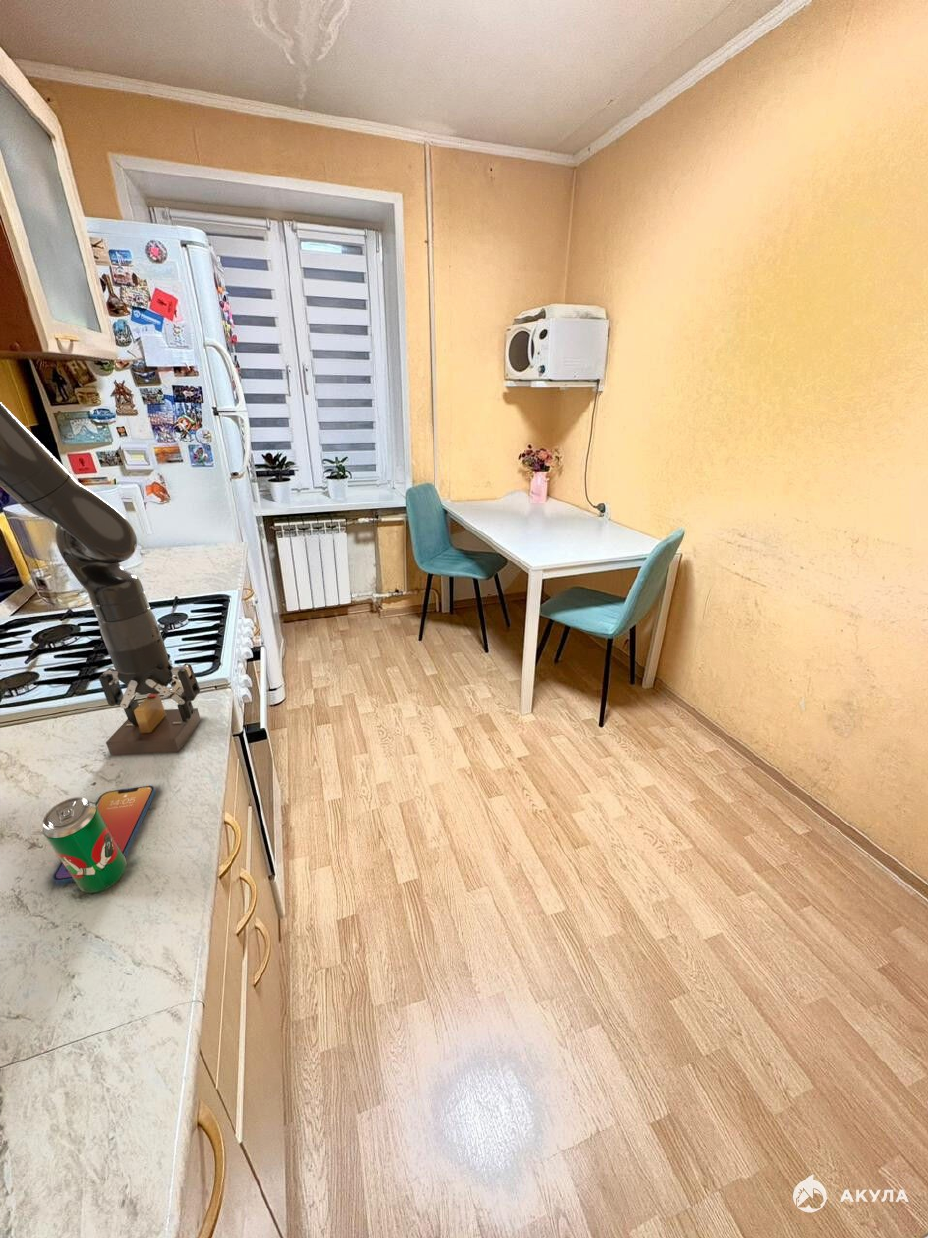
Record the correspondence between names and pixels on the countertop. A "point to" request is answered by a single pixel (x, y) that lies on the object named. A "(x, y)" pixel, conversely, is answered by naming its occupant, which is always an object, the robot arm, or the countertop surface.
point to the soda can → (84, 844)
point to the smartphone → (118, 819)
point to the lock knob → (149, 713)
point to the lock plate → (154, 735)
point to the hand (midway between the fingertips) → (163, 720)
